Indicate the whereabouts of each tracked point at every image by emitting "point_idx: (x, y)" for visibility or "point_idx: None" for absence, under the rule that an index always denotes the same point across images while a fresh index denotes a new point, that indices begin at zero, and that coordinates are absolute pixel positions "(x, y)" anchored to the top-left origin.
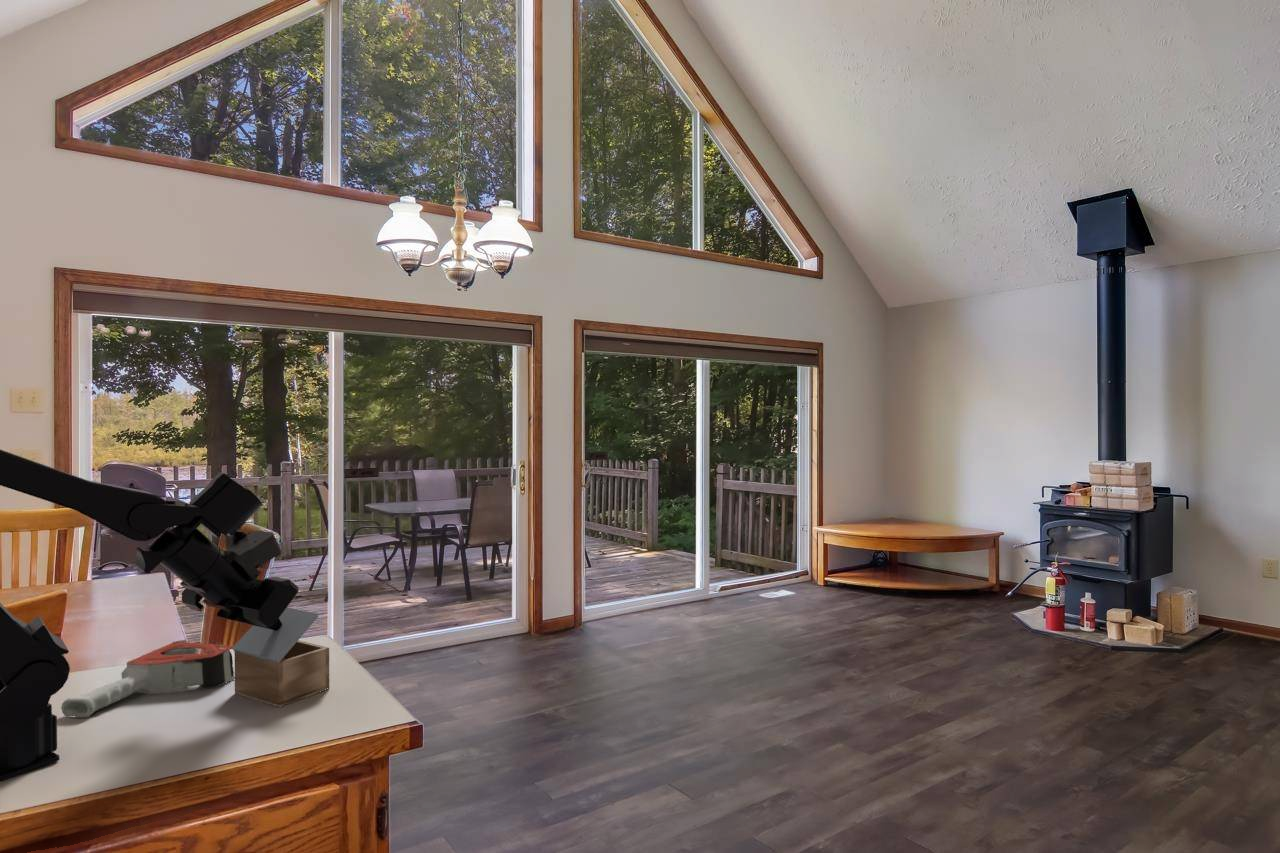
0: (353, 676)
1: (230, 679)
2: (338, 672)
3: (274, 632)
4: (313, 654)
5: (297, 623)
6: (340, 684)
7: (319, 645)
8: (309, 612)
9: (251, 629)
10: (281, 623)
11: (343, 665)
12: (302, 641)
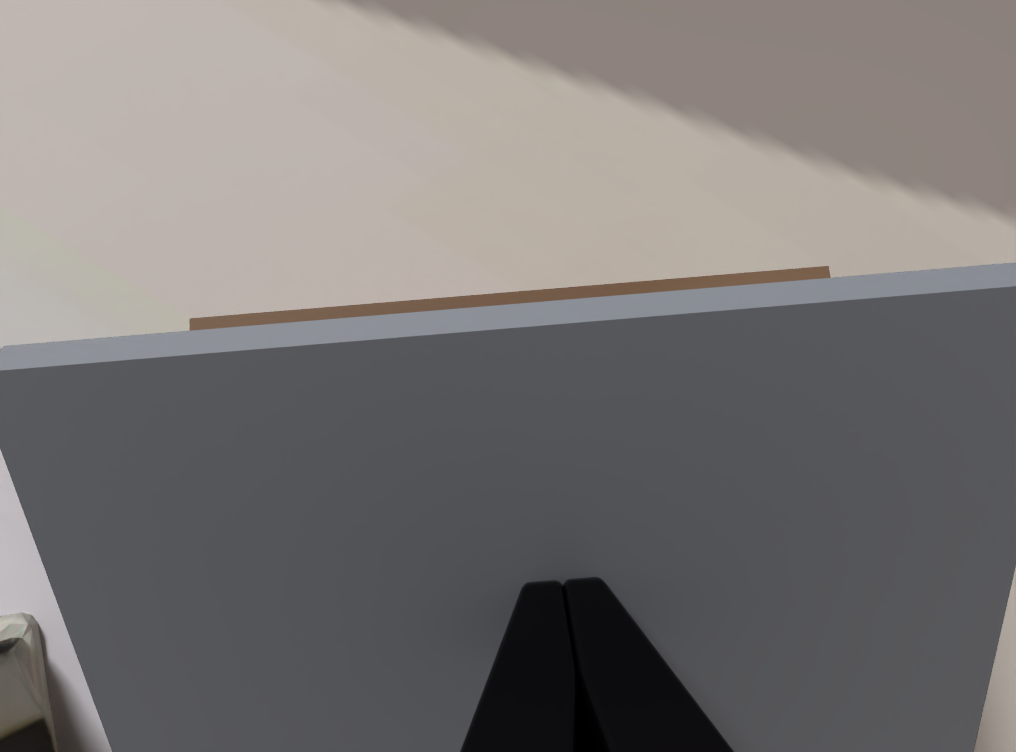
0: (639, 142)
1: (32, 667)
2: (495, 152)
3: None
4: None
5: (849, 494)
6: (707, 268)
7: (695, 278)
8: (925, 303)
9: (149, 740)
10: (610, 593)
11: (403, 62)
12: (453, 300)
